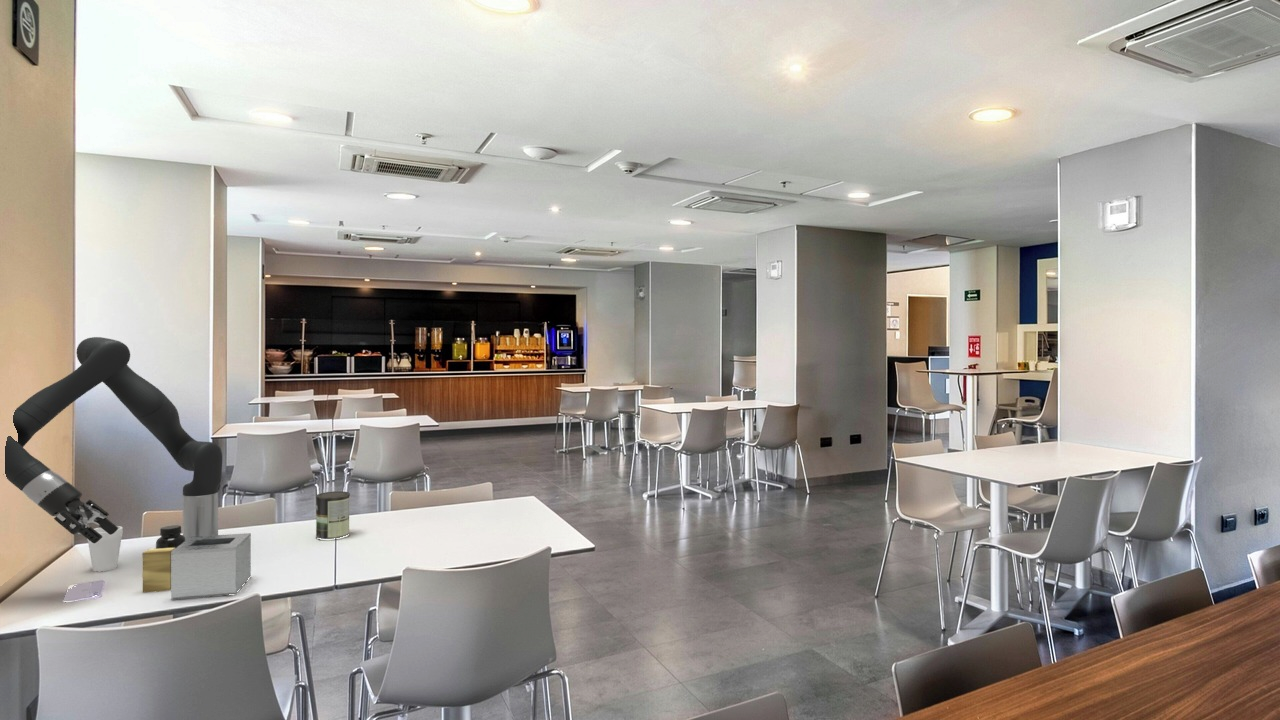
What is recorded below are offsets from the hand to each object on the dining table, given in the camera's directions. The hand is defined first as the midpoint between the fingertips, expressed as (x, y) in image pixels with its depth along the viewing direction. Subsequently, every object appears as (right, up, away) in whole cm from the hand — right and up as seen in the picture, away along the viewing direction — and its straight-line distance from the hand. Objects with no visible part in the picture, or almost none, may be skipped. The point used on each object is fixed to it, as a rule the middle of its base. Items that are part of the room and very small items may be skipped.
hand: (107, 536), depth 171 cm
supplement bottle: (+3, -15, +19) cm, 24 cm away
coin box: (+24, -15, +4) cm, 28 cm away
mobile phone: (-6, -15, +1) cm, 16 cm away
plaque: (+11, -14, +3) cm, 18 cm away
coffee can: (+32, -15, +54) cm, 65 cm away
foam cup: (-16, -14, +19) cm, 29 cm away
